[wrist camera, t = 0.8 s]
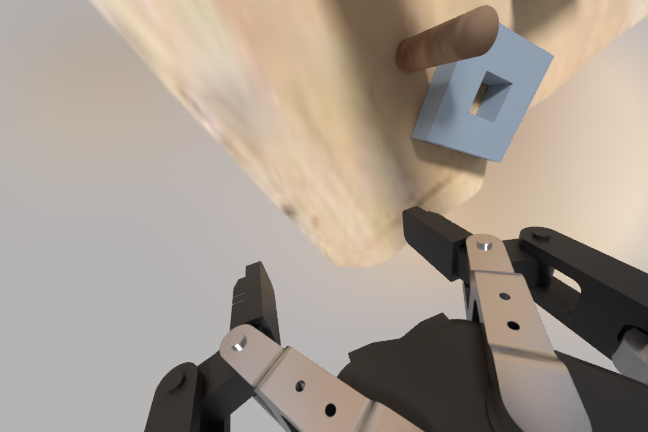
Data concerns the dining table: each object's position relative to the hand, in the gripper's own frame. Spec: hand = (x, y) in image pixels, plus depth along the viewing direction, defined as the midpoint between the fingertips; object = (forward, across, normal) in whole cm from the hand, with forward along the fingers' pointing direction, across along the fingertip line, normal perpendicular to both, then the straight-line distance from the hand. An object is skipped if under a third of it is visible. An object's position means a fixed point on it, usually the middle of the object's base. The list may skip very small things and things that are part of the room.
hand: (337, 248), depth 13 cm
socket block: (+25, -32, 0) cm, 40 cm away
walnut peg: (+25, -21, -8) cm, 34 cm away
